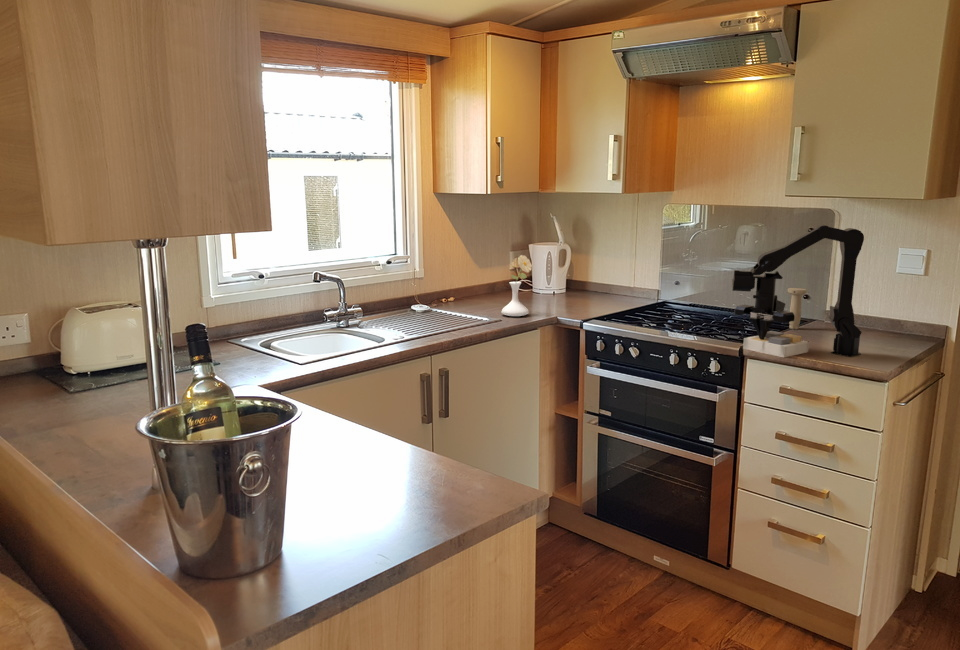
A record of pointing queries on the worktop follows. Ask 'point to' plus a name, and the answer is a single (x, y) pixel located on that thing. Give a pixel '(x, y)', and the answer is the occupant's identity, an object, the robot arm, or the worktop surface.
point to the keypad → (775, 347)
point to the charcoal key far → (773, 334)
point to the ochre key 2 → (792, 338)
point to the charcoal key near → (779, 340)
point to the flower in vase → (515, 306)
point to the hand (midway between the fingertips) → (761, 339)
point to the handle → (796, 306)
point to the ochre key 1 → (761, 340)
